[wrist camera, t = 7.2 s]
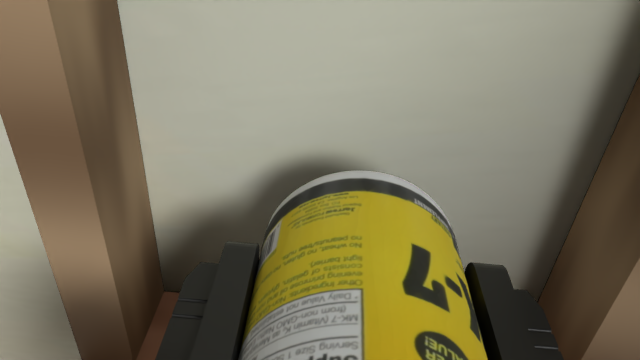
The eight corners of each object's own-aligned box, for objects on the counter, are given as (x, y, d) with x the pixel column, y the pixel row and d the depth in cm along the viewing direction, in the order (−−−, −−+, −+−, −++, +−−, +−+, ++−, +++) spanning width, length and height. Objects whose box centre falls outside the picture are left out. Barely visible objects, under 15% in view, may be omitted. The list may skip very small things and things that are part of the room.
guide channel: (-74, -540, 8) (-567, -983, 4) (988, -463, 8) (1751, -824, 3) (127, 325, 19) (65, 460, 15) (556, 359, 19) (614, 504, 15)
